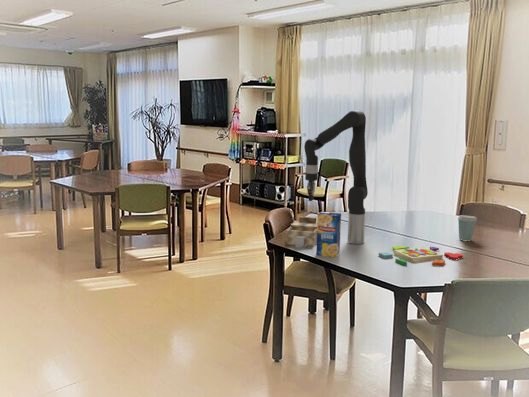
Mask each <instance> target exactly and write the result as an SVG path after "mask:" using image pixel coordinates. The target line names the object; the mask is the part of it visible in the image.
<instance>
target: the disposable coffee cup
mask: <svg viewBox="0 0 529 397" xmlns="http://www.w3.org/2000/svg"><path fill="white" fill-rule="evenodd" d="M457 217H458V218H457V219H458V220H457V222H458V238H459V240H460V239H462V240H471V241H472V238H473V235H474V232H475V228H476V225H477V221H478V218H477V217H476V216H472V215H465V214H463V215H462V214H460V215H459V216H457Z"/></svg>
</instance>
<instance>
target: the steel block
mask: <svg viewBox="0 0 529 397" xmlns="http://www.w3.org/2000/svg"><path fill="white" fill-rule="evenodd" d="M294 246H295V247H294V248H295V249H302V248H304V249H305V247H306V246H305V236H297V237H296V245H294Z"/></svg>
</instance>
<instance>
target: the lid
mask: <svg viewBox="0 0 529 397" xmlns="http://www.w3.org/2000/svg"><path fill="white" fill-rule="evenodd" d="M298 219H299V220H294V221H293V222H292V223H291V224H290V227H291V226H294V227H307V228H317V217H312V216H300V215H299V217H298Z"/></svg>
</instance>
